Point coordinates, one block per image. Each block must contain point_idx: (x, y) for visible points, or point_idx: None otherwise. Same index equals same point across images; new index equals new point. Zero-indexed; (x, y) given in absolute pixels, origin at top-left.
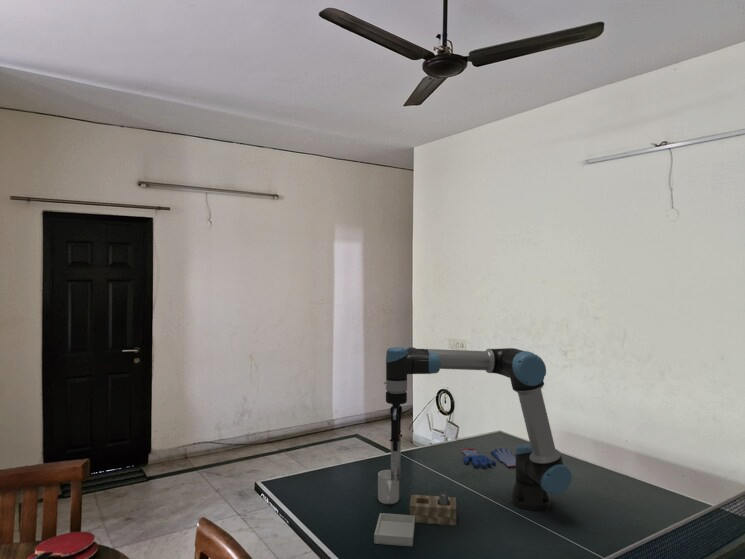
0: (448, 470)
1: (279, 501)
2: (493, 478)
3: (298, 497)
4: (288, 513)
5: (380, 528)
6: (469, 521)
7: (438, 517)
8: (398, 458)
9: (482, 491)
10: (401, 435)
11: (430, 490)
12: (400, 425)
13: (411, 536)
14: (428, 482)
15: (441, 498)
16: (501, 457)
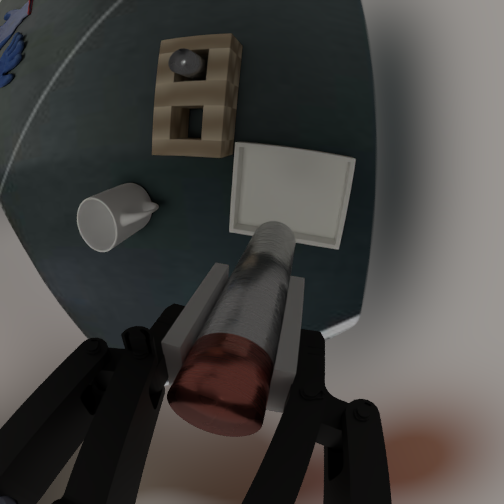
0: (25, 100)
1: None
2: (52, 20)
3: None
4: None
5: None
6: (220, 20)
7: (234, 82)
8: (302, 287)
9: (90, 20)
10: (146, 343)
11: (85, 117)
12: (59, 389)
13: (351, 161)
14: (59, 127)
15: (195, 67)
16: (7, 33)
